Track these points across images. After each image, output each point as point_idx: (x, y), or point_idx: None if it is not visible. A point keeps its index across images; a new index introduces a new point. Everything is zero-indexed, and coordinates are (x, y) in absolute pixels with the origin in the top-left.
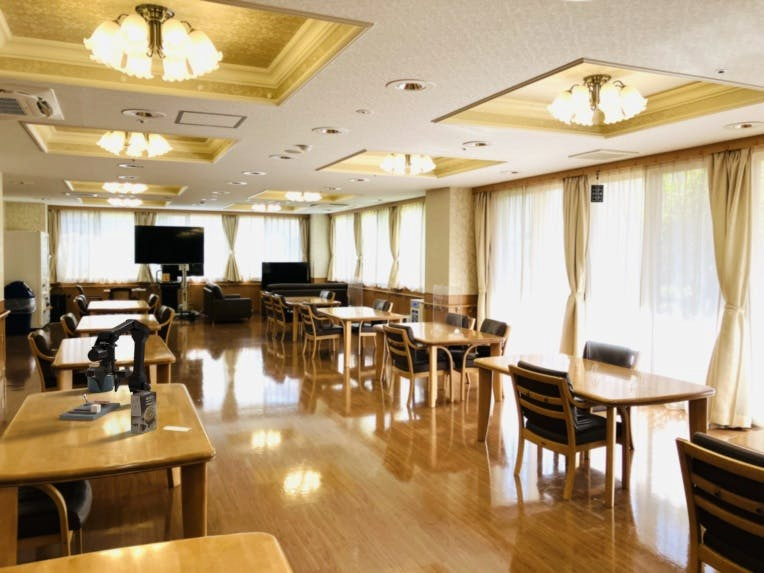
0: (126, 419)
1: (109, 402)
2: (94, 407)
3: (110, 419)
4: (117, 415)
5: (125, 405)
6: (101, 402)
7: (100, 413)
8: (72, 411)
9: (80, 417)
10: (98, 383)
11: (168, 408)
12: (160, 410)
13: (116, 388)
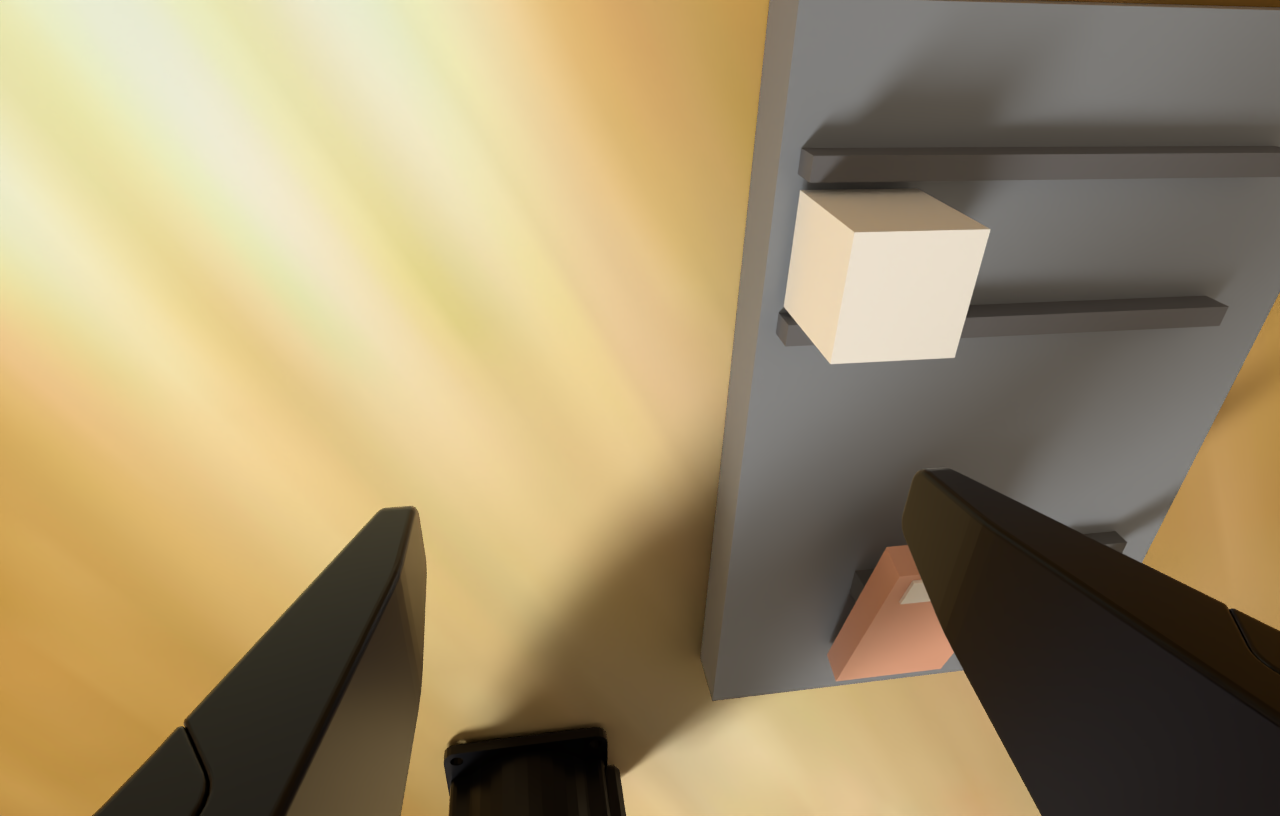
0: (193, 158)
1: (831, 662)
2: (895, 221)
3: (498, 119)
4: (522, 355)
5: (670, 712)
6: (897, 557)
7: (762, 258)
8: (1241, 171)
9: (1032, 2)
10: (1274, 665)
11: (27, 744)
12: (55, 663)
13: (295, 612)
